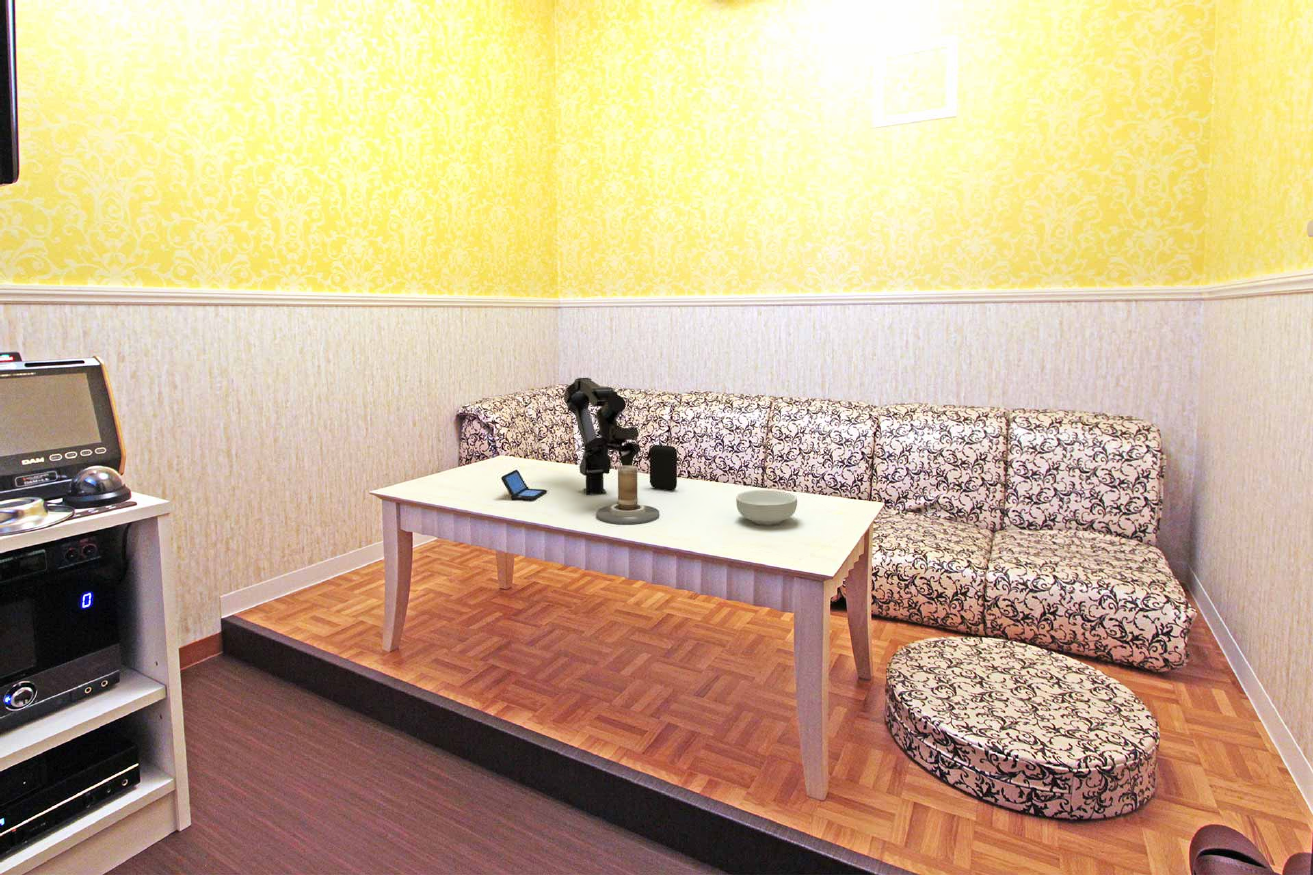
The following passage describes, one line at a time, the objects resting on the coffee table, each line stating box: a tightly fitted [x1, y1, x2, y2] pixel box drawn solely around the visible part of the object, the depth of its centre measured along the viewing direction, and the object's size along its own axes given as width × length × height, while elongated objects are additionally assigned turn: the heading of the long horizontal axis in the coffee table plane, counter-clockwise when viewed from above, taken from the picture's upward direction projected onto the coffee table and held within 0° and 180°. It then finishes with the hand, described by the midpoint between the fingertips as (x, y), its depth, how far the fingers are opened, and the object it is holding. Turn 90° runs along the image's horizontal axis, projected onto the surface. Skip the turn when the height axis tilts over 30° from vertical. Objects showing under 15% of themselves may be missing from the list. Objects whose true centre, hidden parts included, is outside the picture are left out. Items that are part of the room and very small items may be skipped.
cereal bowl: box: [735, 489, 798, 526], centre depth 201 cm, size 17×17×7 cm
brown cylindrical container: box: [617, 465, 639, 511], centre depth 206 cm, size 6×6×13 cm
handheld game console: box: [501, 469, 548, 502], centre depth 229 cm, size 12×11×7 cm
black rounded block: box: [646, 444, 678, 492], centre depth 237 cm, size 11×3×15 cm, turn 62°
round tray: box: [595, 503, 660, 526], centre depth 206 cm, size 18×18×2 cm
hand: (618, 474), depth 213 cm, fingers open, 9 cm apart
